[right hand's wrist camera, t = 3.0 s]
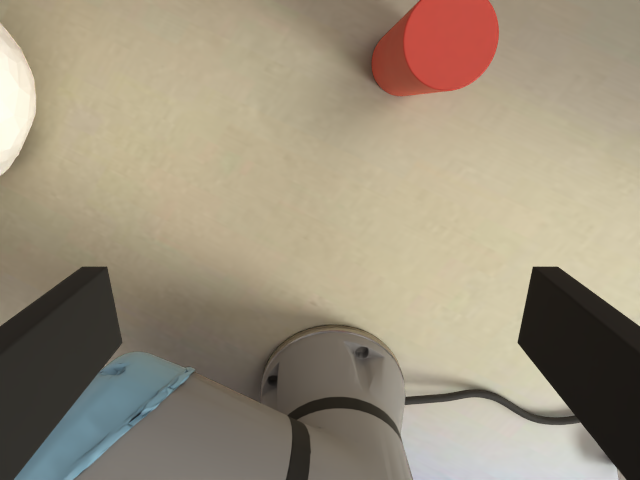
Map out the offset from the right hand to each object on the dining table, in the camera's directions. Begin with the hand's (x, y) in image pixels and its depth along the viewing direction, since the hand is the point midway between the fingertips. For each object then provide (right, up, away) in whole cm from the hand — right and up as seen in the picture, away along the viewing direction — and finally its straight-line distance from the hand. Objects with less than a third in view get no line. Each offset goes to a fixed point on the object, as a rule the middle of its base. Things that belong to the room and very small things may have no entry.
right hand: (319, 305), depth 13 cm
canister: (+7, +17, +21) cm, 28 cm away
